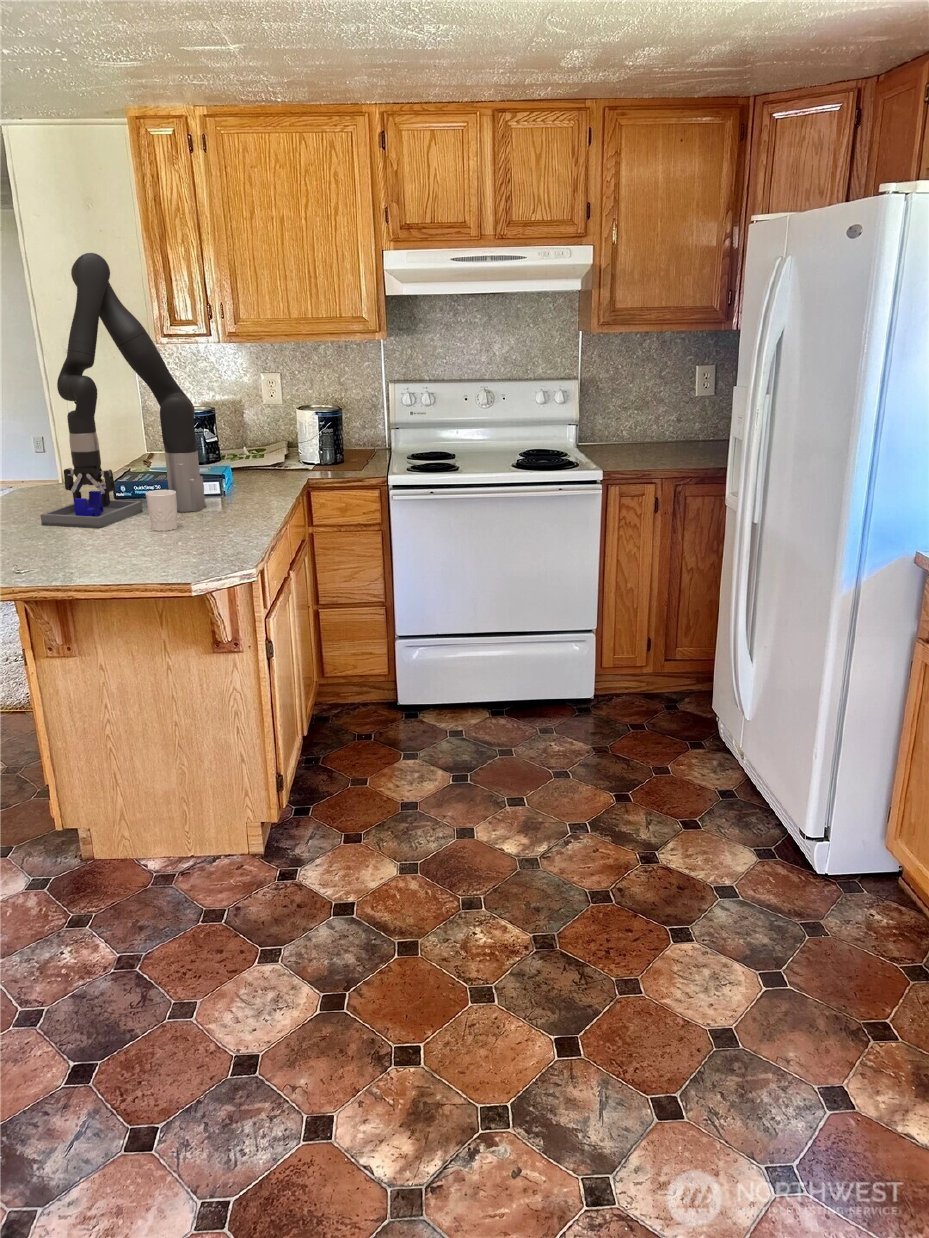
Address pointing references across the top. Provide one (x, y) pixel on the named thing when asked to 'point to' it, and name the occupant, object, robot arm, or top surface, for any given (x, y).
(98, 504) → the blue curved block
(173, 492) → the white cup
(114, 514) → the tray
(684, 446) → the top surface
